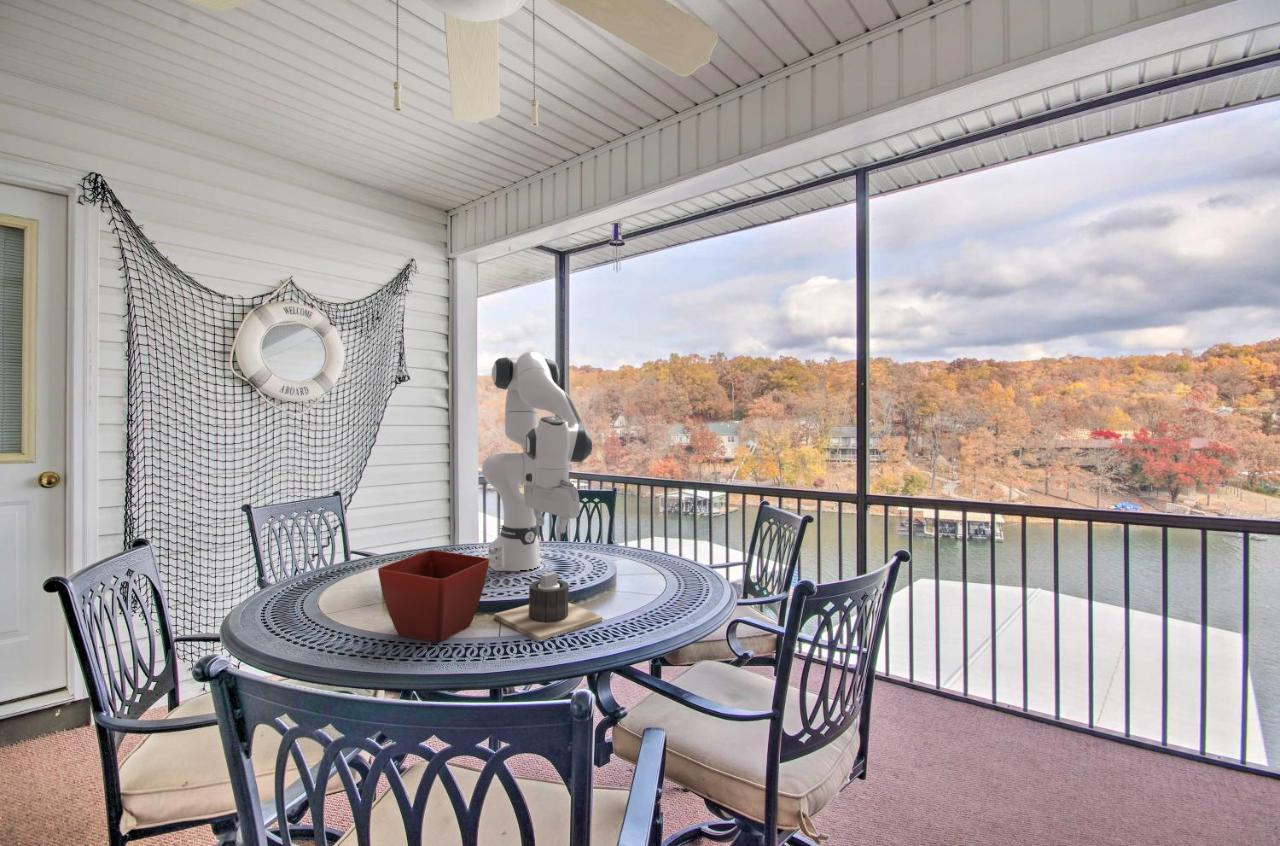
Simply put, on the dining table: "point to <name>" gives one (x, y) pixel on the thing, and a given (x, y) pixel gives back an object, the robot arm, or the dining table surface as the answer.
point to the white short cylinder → (549, 581)
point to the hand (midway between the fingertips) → (550, 528)
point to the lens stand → (547, 613)
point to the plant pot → (433, 593)
